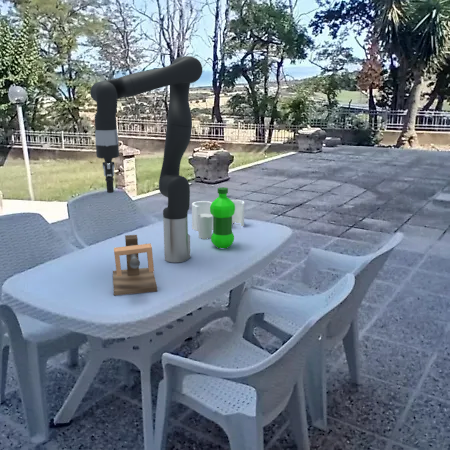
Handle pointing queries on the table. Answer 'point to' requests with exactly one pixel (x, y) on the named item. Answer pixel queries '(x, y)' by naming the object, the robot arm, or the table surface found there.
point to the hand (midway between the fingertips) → (110, 189)
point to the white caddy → (204, 208)
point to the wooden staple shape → (133, 250)
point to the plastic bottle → (222, 219)
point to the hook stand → (133, 274)
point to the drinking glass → (205, 226)
